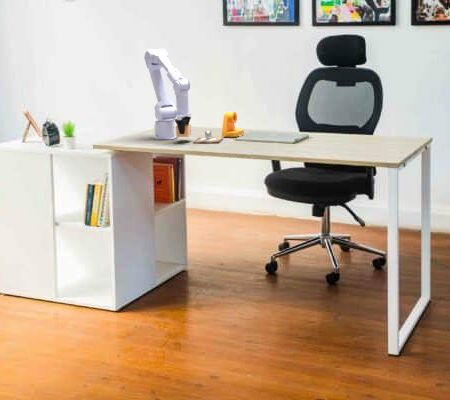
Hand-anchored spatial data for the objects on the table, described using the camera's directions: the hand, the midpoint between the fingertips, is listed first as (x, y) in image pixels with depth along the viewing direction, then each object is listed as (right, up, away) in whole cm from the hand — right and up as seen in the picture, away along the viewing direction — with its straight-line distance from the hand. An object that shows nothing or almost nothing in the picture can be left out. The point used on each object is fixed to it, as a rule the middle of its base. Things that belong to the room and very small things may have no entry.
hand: (183, 132), depth 451 cm
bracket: (+24, -1, +12) cm, 27 cm away
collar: (0, -1, 0) cm, 1 cm away
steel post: (+12, -4, -2) cm, 13 cm away
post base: (+12, -4, -2) cm, 13 cm away
